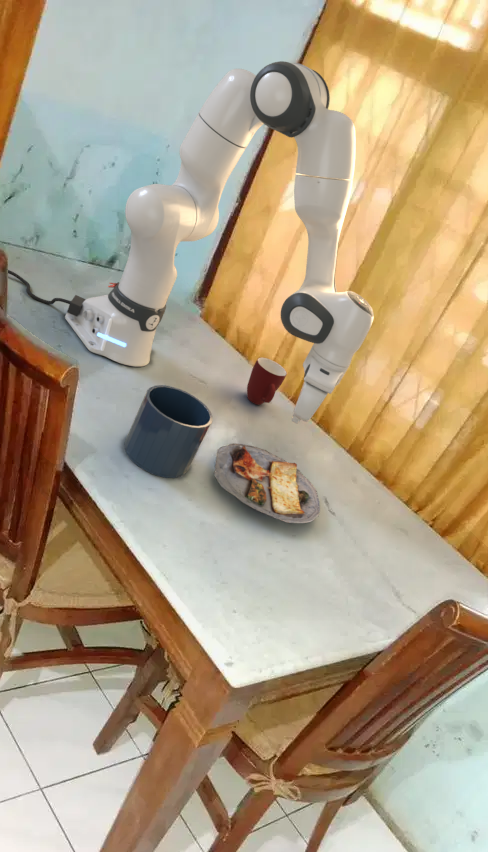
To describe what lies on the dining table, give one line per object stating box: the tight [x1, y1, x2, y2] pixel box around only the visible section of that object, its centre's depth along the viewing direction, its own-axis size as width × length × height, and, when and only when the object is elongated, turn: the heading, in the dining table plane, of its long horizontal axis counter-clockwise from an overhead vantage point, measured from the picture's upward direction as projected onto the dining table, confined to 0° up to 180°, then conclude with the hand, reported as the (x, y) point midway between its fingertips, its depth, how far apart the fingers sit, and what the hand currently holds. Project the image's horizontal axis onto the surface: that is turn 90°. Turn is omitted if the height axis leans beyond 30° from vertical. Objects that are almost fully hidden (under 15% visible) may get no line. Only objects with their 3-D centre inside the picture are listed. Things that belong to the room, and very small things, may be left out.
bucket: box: [123, 384, 214, 479], centre depth 137 cm, size 13×13×12 cm
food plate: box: [213, 442, 321, 524], centre depth 147 cm, size 25×23×4 cm
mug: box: [246, 356, 288, 406], centre depth 177 cm, size 10×8×10 cm
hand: (295, 419), depth 160 cm, fingers closed
